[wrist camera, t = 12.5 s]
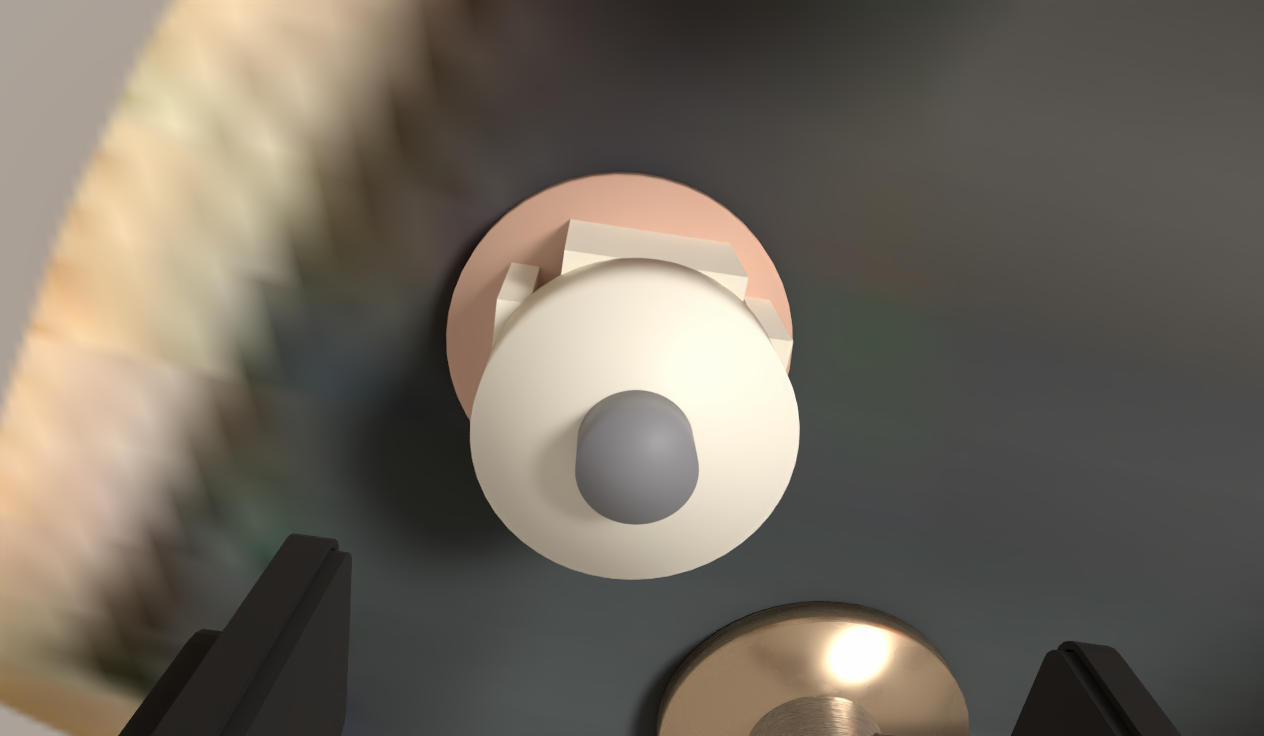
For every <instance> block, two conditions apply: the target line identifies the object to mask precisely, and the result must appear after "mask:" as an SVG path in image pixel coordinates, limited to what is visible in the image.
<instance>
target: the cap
mask: <svg viewBox="0 0 1264 736" xmlns="http://www.w3.org/2000/svg"><path fill="white" fill-rule="evenodd" d="M539 268H540V266H534V265H527V264H520V263H513V262H512V263H511V265H510V268H509V270H508V273H507V275H506V278H505V280H504V283H503V285H502V288H501V290H500V293H499V295H498V298H497V304H496V313H495V323H494V333H493V342H492V350H491V353H490V356H489V359H488V362H487V365H486V367H485V370H484V373H483V376H482V379H481V381H480V384H479V387H478V390H477V393H476V396H475V400H474V403H473V409H472V415H471V420H470V446H471V454H472V461H473V465H474V468H475V472H476V475H477V479H478V481H479V483H480V486H481V488H482V490H483V493H484V495H485V497H486V499H487V500H488V502H489V503H490V505H491V507H492V508H493V510H494V512H495V513H496V514H497V515H498V517H499V518H500V519H501V520H502V522H503V523H504V524H505V525H506V527H507V528H508V529H509V530H511V531H512V532H513V533H514V534H515V535H516V536H517V537H518V538H519V539H520V540H521V541H522V542H524V543H525V544H526V545H528V546H529V547H531V548H532V549H533V550H535V551H536V552H538V553H539V554H541V555H543V556H545V557H546V558H548V559H550V560H552V561H553V562H556V563H558V564H560V565H563V566H565V567H568V568H570V569H572V570H576V571H579V572H583V573H586V574H590V575H594V576H600V577H606V578H613V579H629V580H633V579H652V578H659V577H665V576H671V575H675V574H678V573H682V572H686V571H690V570H692V569H695V568H697V567H700V566H702V565H705V564H707V563H710V562H711V561H713V560H715V559H717V558H719V557H721V556H723V555H725V554H726V553H728V552H729V551H731V550H732V549H734V548H735V547H737V546H738V545H739V544H741V543H742V542H743V541H745V540H746V539H747V538H748V537H749V536H750V535H751V534H753V533H754V532H755V531H756V530H757V529H758V528H759V527H760V526H761V524H762V523H763V522H764V521H765V520H766V519H767V518H768V517H769V515H770V514H771V512H772V511H773V510H774V508H775V507H776V505H777V504H778V502H779V501H780V499H781V497H782V495H783V493H784V491H785V489H786V487H787V485H788V483H789V481H790V478H791V475H792V472H793V469H794V466H795V462H796V457H797V452H798V446H799V427H800V426H799V416H798V407H797V403H796V399H795V395H794V391H793V388H792V385H791V383H790V380H789V378H788V376H787V373H786V369H787V365H788V361H789V357H790V353H791V349H792V345H793V340H792V339H791V337H790V335H789V333H788V331H787V330H786V328H785V326H784V324H783V323H782V321H781V319H780V317H779V316H778V314H777V312H776V310H775V309H774V307H773V305H772V303H771V302H770V300H764V299H758V298H751V297H744V296H745V291H746V287H747V282H748V278H749V277H748V276H747V274H746V272H745V270H744V268H743V266H742V264H741V263H740V261H739V259H738V257H737V255H736V253H735V251H734V249H733V248H732V246H731V244H730V243H724V242H718V241H711V240H705V239H698V238H691V237H685V236H678V235H672V234H665V233H659V232H652V231H646V230H639V229H632V228H626V227H619V226H613V225H606V224H600V223H593V222H586V221H580V220H573V219H570V224H569V229H568V234H567V239H566V244H565V249H564V257H563V264H562V272H561V275H560V276H558V277H556V278H555V279H553V280H551V281H550V282H548V283H547V284H545V285H543V286H542V287H540V288H539V289H538V290H537V285H538V276H539Z"/></svg>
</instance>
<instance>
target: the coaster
mask: <svg viewBox="0 0 1264 736" xmlns="http://www.w3.org/2000/svg"><path fill="white" fill-rule="evenodd" d="M570 219H573V220H580V221H586V222H593V223H600V224H606V225H613V226H619V227H626V228H632V229H639V230H646V231H652V232H659V233H665V234H672V235H678V236H685V237H691V238H698V239H705V240H711V241H718V242H724V243H730V244H731V246H732V248H733V249H734V251H735V253H736V255H737V257H738V259H739V261H740V263H741V264H742V266H743V268H744V270H745V272H746V274H747V276H748V277H749V278H748V282H747V287H746V291H745V296H744V297H751V298H758V299H764V300H770V302H771V303H772V305H773V307H774V309H775V310H776V312H777V314H778V316H779V317H780V319H781V321H782V323H783V324H784V326H785V328H786V330H787V331H788V333H789V335H790V337H791V339H792V322H791V315H790V308H789V303H788V300H787V297H786V293H785V290H784V287H783V283H782V281H781V279H780V277H779V275H778V273H777V271H776V268H775V266H774V264H773V262H772V261H771V259H770V258H769V256H768V255H767V253H766V252H765V250H764V249H763V247H762V245H761V244H760V242H759V241H758V239H757V238H756V237H755V236H754V234H753V233H752V232H751V231H750V230H749V229H748V227H747V226H746V225H745V224H744V223H743V222H742V221H741V220H740V219H739V218H738V217H737V216H736V215H735V214H733V213H732V212H731V211H730V210H729V209H728V208H727V207H725V206H724V205H723V204H721V203H720V202H718V201H716V200H715V199H713V198H712V197H710V196H709V195H707V194H706V193H704V192H702V191H700V190H698V189H695V188H693V187H691V186H689V185H687V184H685V183H682V182H679V181H676V180H673V179H669V178H666V177H663V176H658V175H653V174H647V173H641V172H625V171H611V172H600V173H591V174H586V175H582V176H577V177H573V178H569V179H566V180H563V181H561V182H558V183H555V184H553V185H550V186H547V187H545V188H543V189H542V190H540V191H538V192H536V193H534V194H532V195H530V196H528V197H527V198H525V199H524V200H522V201H521V202H520V203H518V204H517V205H516V206H514V207H513V208H511V209H510V210H509V211H507V212H506V213H505V214H504V215H503V216H502V217H501V218H500V219H499V220H498V221H497V222H496V223H495V224H494V225H493V226H492V227H491V228H490V229H489V231H488V232H487V233H486V234H485V236H484V237H483V238H482V240H481V241H480V242H479V243H478V245H477V247H476V248H475V250H474V252H473V253H472V255H471V257H470V259H469V260H468V262H467V264H466V265H465V267H464V269H463V271H462V273H461V275H460V278H459V280H458V283H457V285H456V287H455V290H454V293H453V297H452V301H451V305H450V309H449V313H448V322H447V332H446V341H447V358H448V364H449V369H450V375H451V379H452V382H453V385H454V388H455V391H456V394H457V397H458V399H459V401H460V403H461V405H462V407H463V409H464V411H465V413H466V415H467V417H468V418H469V420H471V415H472V409H473V403H474V400H475V396H476V393H477V390H478V387H479V384H480V381H481V379H482V376H483V373H484V370H485V367H486V365H487V362H488V359H489V356H490V353H491V350H492V342H493V333H494V323H495V313H496V304H497V298H498V295H499V293H500V290H501V288H502V285H503V283H504V280H505V278H506V275H507V273H508V270H509V268H510V265H511V263H512V262H513V263H520V264H527V265H534V266H540V268H539V276H538V285H537V290H538V289H539V288H540V287H542V286H543V285H545V284H547V283H548V282H550V281H551V280H553V279H555V278H556V277H558V276H560V275H561V272H562V264H563V257H564V249H565V244H566V239H567V234H568V229H569V224H570ZM791 353H792V349H791ZM791 353H790V357H789V361H788V365H787V369H786V373H787V376H788V372H789V368H790V361H791Z"/></svg>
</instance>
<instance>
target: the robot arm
mask: <svg viewBox="0 0 1264 736" xmlns="http://www.w3.org/2000/svg"><path fill="white" fill-rule="evenodd" d="M351 569H352V557H351V554H350V553H348V552H341V551H339V545H338V542H337V540H336V539H330V538H323V537H316V536H309V535H301V534H291V535H289V537H288V538H287V539H286V540H285V542H284V543H283V545H282V546H281V547H280V549H279V550H278V552H277V553H276V555H275V556H274V558H273V559H272V561H271V562H270V563H269V565H268V566H267V568H266V569H265V571H264V572H263V574H262V575H261V576H260V578H259V579H258V581H257V582H256V584H255V585H254V587H253V588H252V590H251V591H250V592H249V594H248V595H247V597H246V598H245V600H244V601H243V603H242V604H241V606H240V607H239V608H238V610H237V611H236V613H235V614H234V616H233V617H232V619H231V620H230V622H229V623H228V624H227V626H226V627H225V629H224V630H223V632H222V631H214V630H207V629H202V630H200V631H198V632H196V633H195V634H194V635H193V636H192V637H191V638H190V639H189V640H188V642H187V643H186V644H185V646H184V647H183V648H182V650H181V651H180V652H179V654H178V655H177V656H176V658H175V659H174V661H173V662H172V663H171V665H170V666H169V667H168V669H167V670H166V671H165V673H164V674H163V675H162V677H161V678H160V680H159V681H158V682H157V684H156V685H155V686H154V688H153V689H152V690H151V692H150V693H149V695H148V696H147V697H146V699H145V700H144V701H143V703H142V704H141V705H140V707H139V708H138V710H137V711H136V712H135V714H134V715H133V716H132V718H131V719H130V720H129V722H128V723H127V724H126V726H125V727H124V729H123V730H122V731H121V733H120V734H119V735H118V736H341V732H342V729H343V725H344V720H345V714H346V696H347V671H348V645H349V620H350V595H351ZM1011 736H1181V735H1180V733H1179V732H1178V731H1177V729H1176V728H1175V727H1174V725H1173V724H1172V723H1171V721H1170V720H1169V719H1168V717H1167V716H1166V715H1165V713H1164V712H1163V711H1162V710H1161V708H1160V707H1159V706H1158V704H1157V703H1156V702H1155V700H1154V699H1153V698H1152V696H1151V695H1150V694H1149V692H1148V691H1147V690H1146V688H1145V687H1144V686H1143V684H1142V683H1141V682H1140V680H1139V679H1138V678H1137V676H1136V675H1135V674H1134V672H1133V671H1132V670H1131V668H1130V667H1129V666H1128V664H1127V663H1126V662H1125V661H1124V659H1123V658H1122V657H1121V655H1120V654H1119V653H1118V652H1117V651H1116V650H1115V649H1114V648H1111V647H1109V646H1103V645H1096V644H1089V643H1081V642H1074V641H1066V642H1063V643H1062V644H1061V645H1060V646H1059V647H1058V649H1057V650H1051V651H1050V652H1048V653H1047V654H1046V656H1045V658H1044V660H1043V662H1042V665H1041V667H1040V669H1039V672H1038V674H1037V676H1036V679H1035V681H1034V683H1033V686H1032V688H1031V690H1030V693H1029V695H1028V697H1027V699H1026V702H1025V704H1024V706H1023V709H1022V711H1021V713H1020V716H1019V718H1018V720H1017V723H1016V725H1015V727H1014V730H1013V732H1012V734H1011Z"/></svg>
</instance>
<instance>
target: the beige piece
mask: <svg viewBox="0 0 1264 736" xmlns="http://www.w3.org/2000/svg"><path fill="white" fill-rule="evenodd" d="M656 731H657V736H969V719H968V711H967V707H966V703H965V700H964V697H963V695H962V693H961V690H960V688H959V686H958V684H957V682H956V680H955V678H954V676H953V674H952V673H951V671H950V669H949V667H948V665H947V663H946V661H945V660H944V658H943V657H942V655H941V654H940V652H939V651H938V650H937V648H936V647H935V646H934V645H933V644H932V643H931V642H930V641H929V640H928V639H927V638H926V637H925V636H924V635H923V634H921V633H920V632H919V631H917V630H916V629H915V628H913V627H912V626H911V625H909V624H907V623H905V622H904V621H902V620H900V619H898V618H896V617H895V616H892V615H889V614H887V613H884V612H882V611H879V610H877V609H873V608H869V607H865V606H861V605H857V604H849V603H842V602H820V601H815V602H804V603H794V604H789V605H783V606H778V607H774V608H770V609H767V610H764V611H760V612H757V613H754V614H752V615H749V616H747V617H745V618H742V619H740V620H738V621H735V622H733V623H732V624H730V625H728V626H726V627H725V628H723V629H721V630H719V631H718V632H716V633H715V634H713V635H712V636H711V637H709V638H708V639H707V640H705V641H704V642H702V643H701V644H700V645H699V646H698V647H697V648H696V649H695V650H694V651H693V652H692V653H691V654H689V655H688V657H687V658H686V659H685V660H684V661H683V663H682V664H681V665H680V666H679V667H678V669H677V670H676V672H675V673H674V675H673V676H672V678H671V680H670V681H669V683H668V685H667V687H666V689H665V692H664V694H663V697H662V699H661V703H660V707H659V711H658V716H657V729H656Z"/></svg>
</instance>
